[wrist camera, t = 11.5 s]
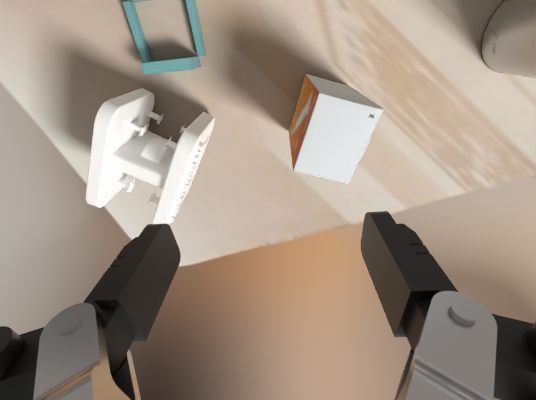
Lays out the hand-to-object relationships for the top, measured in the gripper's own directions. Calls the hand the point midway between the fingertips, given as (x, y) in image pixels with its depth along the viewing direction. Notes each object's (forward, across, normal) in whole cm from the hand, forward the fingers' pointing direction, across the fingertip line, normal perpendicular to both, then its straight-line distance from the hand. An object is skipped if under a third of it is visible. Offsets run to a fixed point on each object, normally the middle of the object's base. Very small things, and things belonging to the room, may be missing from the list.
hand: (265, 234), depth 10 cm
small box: (+28, -6, +2) cm, 29 cm away
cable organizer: (+28, +16, +5) cm, 33 cm away
